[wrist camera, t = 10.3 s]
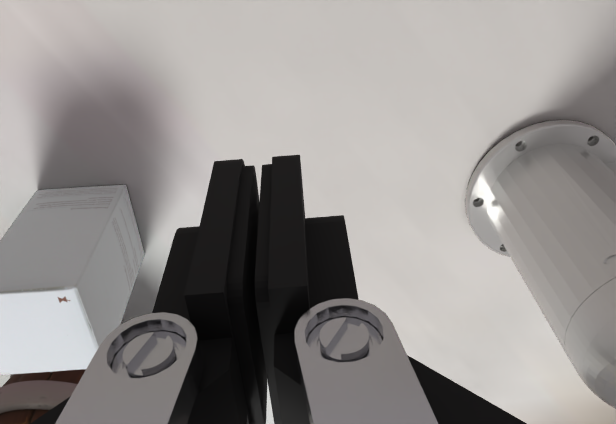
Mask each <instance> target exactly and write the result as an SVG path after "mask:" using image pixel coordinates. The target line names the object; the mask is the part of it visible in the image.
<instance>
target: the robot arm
mask: <svg viewBox="0 0 616 424" xmlns="http://www.w3.org/2000/svg"><path fill="white" fill-rule="evenodd" d="M518 142H519V143H518ZM465 207H466V215H467V218H468V221H469V224H470V226H471V227H472V229H473V231H474V233H475V235H476V236H477V237H478V238H479V240H480V241H481V242H482V243H483V244H484V245H486V246H487V247H488V248H489V249H491V250H493V251H495V252H497V253H499V254H501V255H505V256H508V257H511V259H512V261H513V262H514V264H515V266H516V268H517V269H518V271H519V273H520V275H521V276H522V278H523V280H524V281H525V283H526V285H527V287H528V288H529V290H530V292H531V294H532V295H533V297H534V299H535V301H536V302H537V304H538V306H539V307H540V309H541V311H542V313H543V314H544V316H545V318H546V320H547V321H548V323H549V325H550V327H551V328H552V330H553V332H554V334H555V335H556V337H557V339H558V340H559V342H560V344H561V346H562V347H563V349H564V351H565V353H566V354H567V356H568V358H569V360H570V361H571V363H572V365H573V366H574V368H575V370H576V371H577V373H578V375H579V376H580V378H581V379H582V380H583V382H584V383H585V384H586V385H587V386H588V388H589V389H590V390H591V391H592V392H593V393H594V394H595V395H597V396H598V397H599V398H600V399H602V400H603V401H604V402H606V403H607V404H608V405H610V406H612V407H614V408H615V409H616V144H615V143H614V142H613V141H612V140H611V139H610V138H609V137H608V136H607V135H605V134H604V133H603V132H602V131H600V130H598V129H597V128H595V127H593V126H591V125H588V124H585V123H582V122H579V121H570V120H554V121H546V122H542V123H538V124H534V125H531V126H528V127H526V128H523V129H521V130H519V131H516V132H515V133H513V134H511V135H510V136H508V137H507V138H505V139H503V140H502V141H501V142H499V143H498V144H497V145H496V146H495V147H494V148H492V149H491V150H490V151H489V152H488V153H487V154H486V156H485V157H484V158H483V159H482V160H481V161H480V163H479V164H478V166H477V168H476V169H475V171H474V173H473V174H472V176H471V179H470V182H469V184H468V187H467V192H466V198H465ZM267 379H268V385H269V392H270V398H271V405H272V411H273V417H274V423H275V424H526V423H525V422H523V421H521V420H519V419H518V418H516V417H514V416H512V415H511V414H509V413H507V412H505V411H504V410H502V409H500V408H498V407H497V406H495V405H493V404H491V403H490V402H488V401H486V400H484V399H483V398H481V397H479V396H477V395H476V394H474V393H472V392H471V391H469V390H467V389H465V388H464V387H462V386H460V385H458V384H457V383H455V382H453V381H451V380H450V379H448V378H446V377H444V376H443V375H441V374H439V373H437V372H436V371H434V370H432V369H430V368H429V367H427V366H425V365H423V364H422V363H420V362H418V361H416V360H415V359H413V358H411V357H409V356H408V355H407V354H406V352H405V350H404V348H403V345H402V343H401V341H400V339H399V337H398V334H397V332H396V330H395V328H394V326H393V323H392V322H391V320H390V319H389V318H388V316H387V315H386V313H384V312H383V311H382V310H380V309H379V308H378V307H376V306H375V305H373V304H370V303H367V302H365V301H362V300H358V294H357V288H356V282H355V277H354V271H353V265H352V259H351V254H350V248H349V242H348V236H347V230H346V225H345V219H344V216H330V217H317V218H305V211H304V199H303V187H302V175H301V163H300V155H291V156H278V157H272V164H268V165H262V175H261V190H260V202H259V195H258V187H257V180H256V172H255V167H254V166H245V165H244V161H243V159H239V160H226V161H215V162H214V165H213V170H212V174H211V179H210V183H209V187H208V192H207V196H206V201H205V205H204V210H203V214H202V218H201V223H200V227H187V228H179V229H177V231H176V233H175V236H174V240H173V243H172V247H171V250H170V253H169V257H168V260H167V264H166V267H165V271H164V274H163V278H162V281H161V285H160V288H159V292H158V295H157V299H156V302H155V306H154V309H153V313H149V314H145V315H142V316H138V317H135V318H133V319H131V320H129V321H127V322H125V323H123V324H121V325H119V326H118V327H117V328H116V329H114V330H113V331H112V332H111V333H109V334H108V335H107V337H106V338H105V339H104V341H103V342H102V343H101V344H100V346H99V348H98V349H97V351H96V353H95V355H94V356H93V358H92V360H91V362H90V363H89V365H88V367H87V369H86V370H85V372H84V374H83V376H82V377H81V379H80V381H79V383H78V384H77V386H76V388H75V390H74V391H73V393H72V395H71V396H70V397H68V398H67V399H66V400H64V401H63V402H61V403H60V404H58V405H57V406H55V407H54V408H52V409H51V410H49V411H48V412H46V413H45V414H43V415H42V416H40V417H39V418H38V419H36V420H35V421H33V422H32V423H30V424H266V405H267Z"/></svg>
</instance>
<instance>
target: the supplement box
mask: <svg viewBox="0 0 616 424" xmlns="http://www.w3.org/2000/svg"><path fill="white" fill-rule="evenodd" d="M144 255H145V254H144V250H143V246H142V242H141V238H140V235H139V231H138V227H137V223H136V220H135V216H134V212H133V209H132V205H131V201H130V197H129V194H128V190H127V186H126V185H109V186H92V187H75V188H59V189H45V190H37V191H36V192H35V193H34V195H33V196H32V198H31V199H30V200H29V202H28V203H27V204H26V206H25V207H24V208H23V210H22V211H21V213H20V214H19V215H18V217H17V218H16V220H15V221H14V222H13V224H12V225H11V227H10V228H9V229H8V231H7V232H6V233H5V235H4V236H3V238H2V239H1V240H0V374H1V375H7V374H24V373H39V372H53V371H66V370H80V369H87V367H88V365H89V363H90V362H91V360H92V358H93V356H94V355H95V353H96V351H97V349H98V348H99V346H100V344H101V343H102V342H103V341H104V339H105V338H106V337H107V335H108V334H109V333H111V332H112V331H113V330H114V329H116V328H117V327H118V326H119V325H121V322H122V319H123V316H124V313H125V310H126V307H127V304H128V301H129V298H130V295H131V292H132V289H133V286H134V283H135V280H136V278H137V275H138V272H139V269H140V266H141V264H142V261H143V258H144Z"/></svg>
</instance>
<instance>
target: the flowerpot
mask: <svg viewBox="0 0 616 424" xmlns="http://www.w3.org/2000/svg"><path fill="white" fill-rule="evenodd" d="M85 370H86V369H80V370H66V371H53V372H39V373H24V374H11V376H10V379H9V380H8V381H7V382H6V383H5V384H4V385H3V386H2V387H0V424H30V423H32V422H33V421H35V420H36V419H38V418H39V417H40V416H42V415H43V414H45V413H46V412H48V411H49V410H51V409H52V408H54V407H55V406H57V405H58V404H60V403H61V402H63V401H64V400H66V399H67V398H68V397H70V396H71V395H72V393H73V391H74V390H75V388H76V386H77V384H78V383H79V381H80V379H81V377H82V376H83V374H84V372H85Z"/></svg>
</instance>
